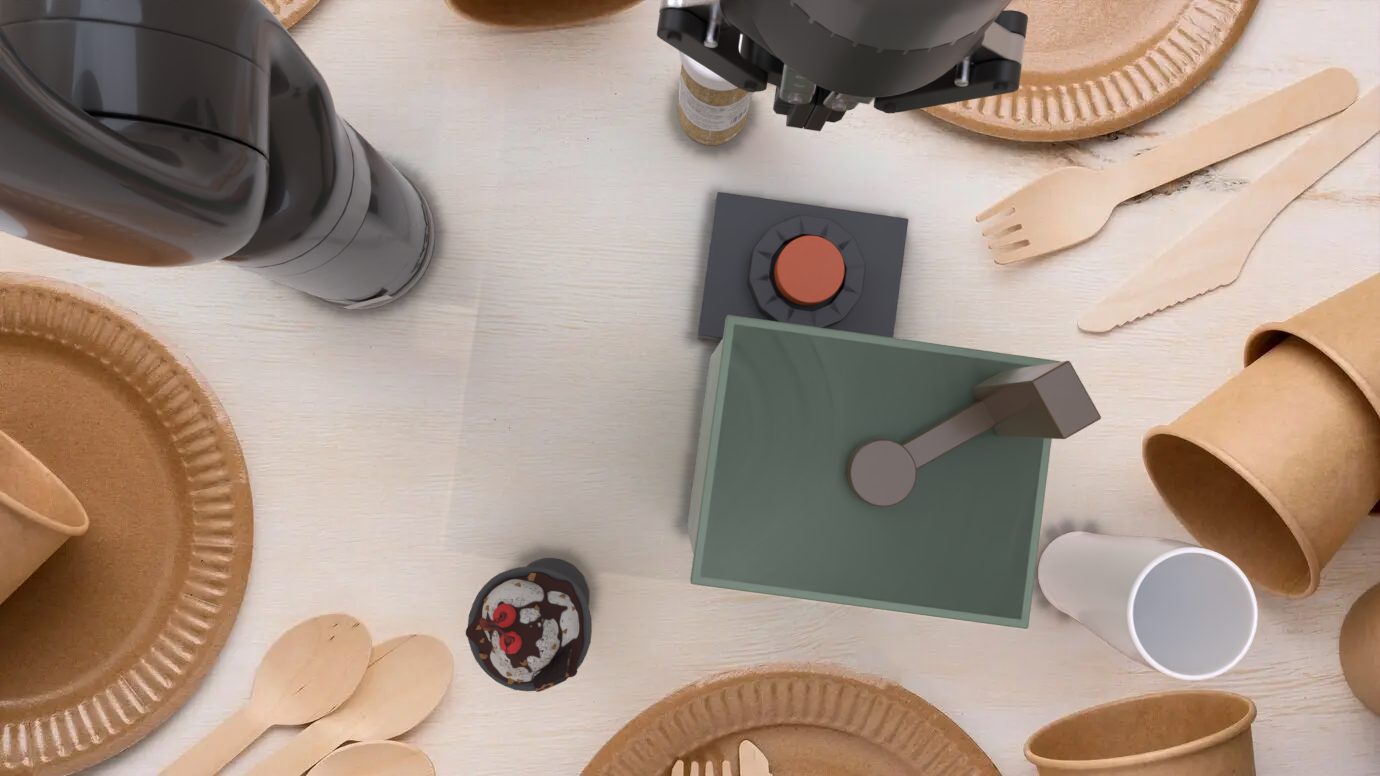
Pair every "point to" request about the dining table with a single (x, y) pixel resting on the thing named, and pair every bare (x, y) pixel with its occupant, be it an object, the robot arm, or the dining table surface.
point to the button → (809, 270)
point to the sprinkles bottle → (710, 104)
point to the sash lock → (977, 427)
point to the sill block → (815, 492)
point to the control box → (756, 239)
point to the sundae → (531, 625)
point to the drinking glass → (1154, 600)
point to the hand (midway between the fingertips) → (804, 105)
